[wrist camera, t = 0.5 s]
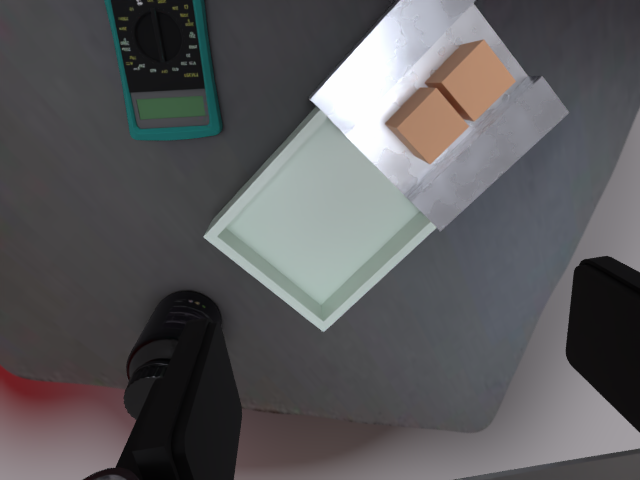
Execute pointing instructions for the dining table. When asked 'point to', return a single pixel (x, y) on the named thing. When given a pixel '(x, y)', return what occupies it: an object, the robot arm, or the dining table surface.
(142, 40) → the digital multimeter
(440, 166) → the slotted block
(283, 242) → the tray
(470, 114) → the chip
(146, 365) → the supplement bottle
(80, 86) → the dining table surface
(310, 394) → the dining table surface
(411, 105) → the chip
